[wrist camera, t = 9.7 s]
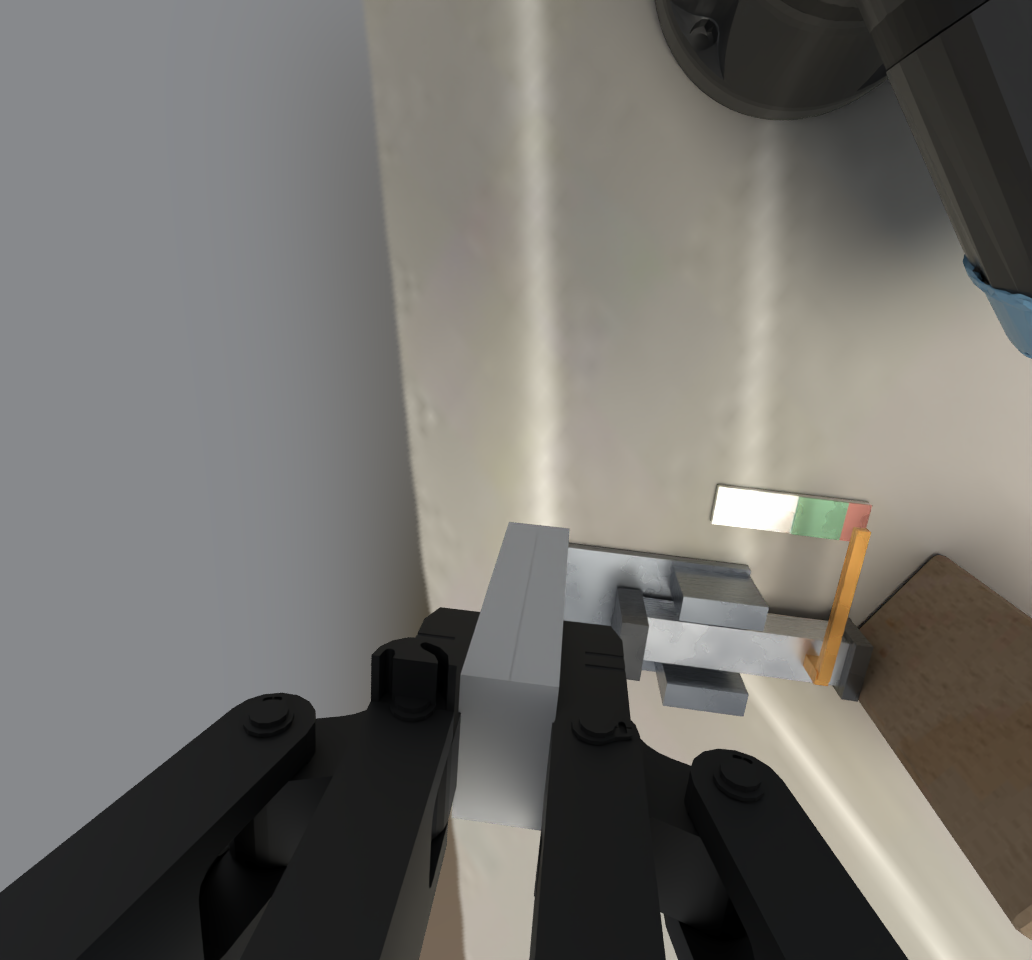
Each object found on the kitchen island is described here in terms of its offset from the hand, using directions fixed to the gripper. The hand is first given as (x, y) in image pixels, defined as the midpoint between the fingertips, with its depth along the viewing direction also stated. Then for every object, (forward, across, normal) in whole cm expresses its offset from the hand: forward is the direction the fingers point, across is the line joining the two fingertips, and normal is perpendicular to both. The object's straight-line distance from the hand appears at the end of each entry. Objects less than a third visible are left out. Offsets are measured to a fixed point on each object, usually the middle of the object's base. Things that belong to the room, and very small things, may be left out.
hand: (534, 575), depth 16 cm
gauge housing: (+26, +10, -11) cm, 30 cm away
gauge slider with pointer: (+25, +12, -10) cm, 30 cm away
